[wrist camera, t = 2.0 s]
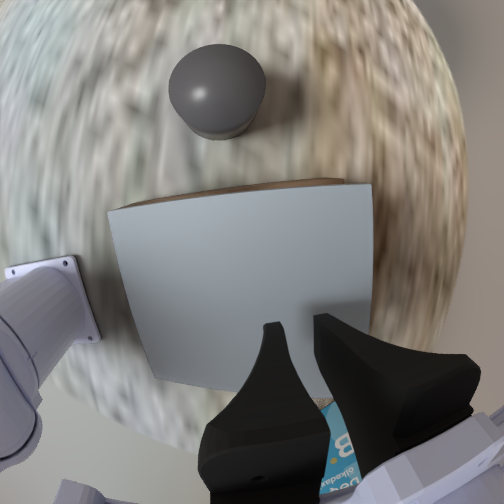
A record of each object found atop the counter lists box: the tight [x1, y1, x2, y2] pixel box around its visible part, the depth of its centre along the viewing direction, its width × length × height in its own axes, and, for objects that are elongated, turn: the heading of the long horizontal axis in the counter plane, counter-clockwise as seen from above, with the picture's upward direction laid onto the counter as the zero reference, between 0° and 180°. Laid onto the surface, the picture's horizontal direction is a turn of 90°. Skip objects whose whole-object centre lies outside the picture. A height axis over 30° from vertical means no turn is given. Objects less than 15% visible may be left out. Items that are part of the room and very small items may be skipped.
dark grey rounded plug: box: [169, 44, 266, 140], centre depth 15 cm, size 5×5×5 cm
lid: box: [108, 183, 373, 398], centre depth 15 cm, size 14×12×1 cm
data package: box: [319, 401, 362, 495], centre depth 21 cm, size 12×4×12 cm, turn 131°
